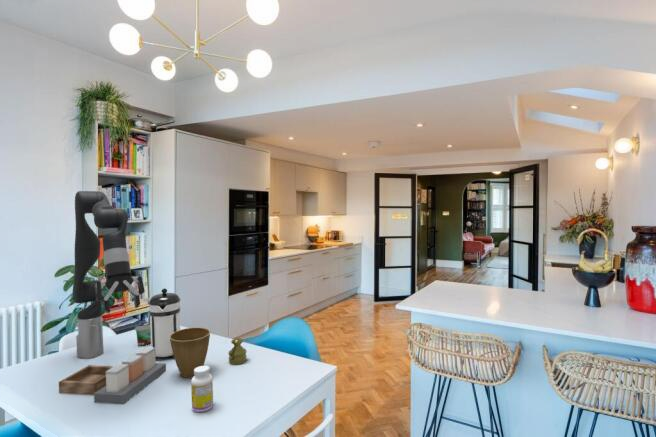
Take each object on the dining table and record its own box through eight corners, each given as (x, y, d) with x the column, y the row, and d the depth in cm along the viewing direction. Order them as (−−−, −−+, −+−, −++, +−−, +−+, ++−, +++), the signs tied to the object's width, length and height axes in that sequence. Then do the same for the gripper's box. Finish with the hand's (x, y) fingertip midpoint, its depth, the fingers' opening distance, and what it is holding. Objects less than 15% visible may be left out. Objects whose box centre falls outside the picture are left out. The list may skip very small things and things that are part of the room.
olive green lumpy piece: (225, 363, 155) (224, 340, 154) (235, 356, 161) (235, 334, 161) (239, 366, 152) (239, 342, 151) (250, 359, 159) (249, 336, 158)
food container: (147, 348, 173) (146, 327, 173) (135, 347, 175) (134, 326, 174) (163, 338, 185) (163, 319, 185) (153, 338, 187) (152, 318, 186)
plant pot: (164, 374, 145) (162, 334, 145) (199, 362, 156) (198, 325, 156) (181, 386, 135) (180, 343, 135) (218, 372, 146) (217, 332, 145)
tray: (59, 393, 132) (58, 381, 132) (89, 375, 146) (88, 365, 146) (94, 394, 130) (94, 383, 130) (121, 376, 144) (121, 366, 144)
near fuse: (117, 401, 126) (116, 372, 125) (106, 400, 126) (105, 371, 126) (129, 392, 132) (128, 364, 131) (119, 391, 132) (118, 364, 132)
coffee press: (193, 352, 167) (191, 286, 166) (161, 365, 154) (158, 293, 153) (169, 345, 176) (168, 282, 176) (137, 357, 163) (135, 289, 162)
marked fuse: (133, 389, 134) (132, 362, 133) (122, 389, 134) (121, 361, 134) (143, 381, 140) (142, 355, 139) (133, 381, 140) (132, 355, 140)
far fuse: (146, 379, 142) (145, 353, 141) (136, 378, 142) (136, 353, 142) (155, 372, 147) (155, 347, 147) (146, 371, 148) (145, 347, 148)
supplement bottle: (195, 402, 124) (194, 364, 123) (215, 401, 124) (214, 363, 124) (189, 413, 117) (188, 373, 117) (210, 412, 118) (209, 372, 117)
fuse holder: (123, 403, 124) (123, 395, 124) (94, 402, 125) (93, 393, 125) (166, 370, 149) (165, 363, 149) (141, 369, 150) (140, 362, 150)
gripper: (136, 263, 135) (143, 307, 131) (91, 268, 126) (96, 316, 122) (142, 258, 130) (148, 303, 126) (94, 262, 120) (100, 312, 117)
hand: (122, 309), depth 124 cm, fingers open, 8 cm apart
